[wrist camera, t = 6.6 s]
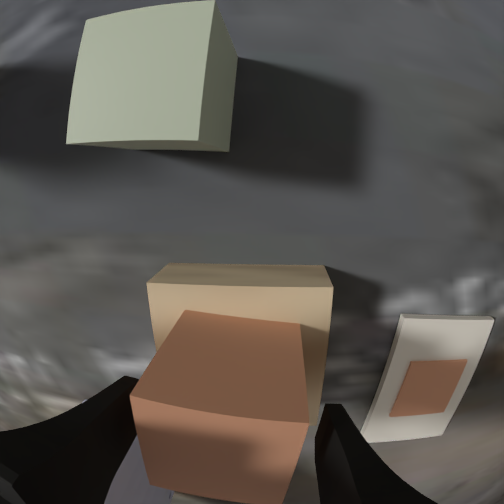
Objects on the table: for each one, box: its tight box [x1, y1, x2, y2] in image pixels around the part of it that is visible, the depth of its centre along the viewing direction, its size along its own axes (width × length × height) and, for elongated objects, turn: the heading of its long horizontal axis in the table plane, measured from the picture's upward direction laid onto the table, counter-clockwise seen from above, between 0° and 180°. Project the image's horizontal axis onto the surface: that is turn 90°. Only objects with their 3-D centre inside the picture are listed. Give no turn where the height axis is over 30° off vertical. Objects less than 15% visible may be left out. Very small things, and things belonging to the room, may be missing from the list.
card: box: [360, 314, 494, 443], centre depth 17 cm, size 10×7×1 cm
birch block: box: [147, 263, 333, 426], centre depth 16 cm, size 8×8×4 cm
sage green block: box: [66, 0, 238, 152], centre depth 11 cm, size 5×5×6 cm
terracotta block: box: [130, 310, 309, 504], centre depth 11 cm, size 5×5×6 cm
